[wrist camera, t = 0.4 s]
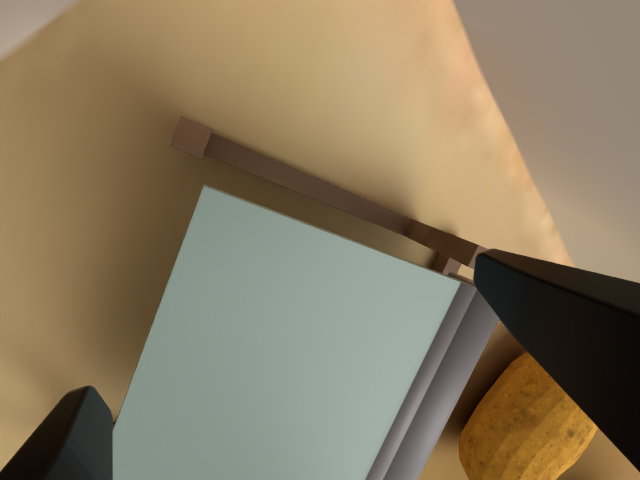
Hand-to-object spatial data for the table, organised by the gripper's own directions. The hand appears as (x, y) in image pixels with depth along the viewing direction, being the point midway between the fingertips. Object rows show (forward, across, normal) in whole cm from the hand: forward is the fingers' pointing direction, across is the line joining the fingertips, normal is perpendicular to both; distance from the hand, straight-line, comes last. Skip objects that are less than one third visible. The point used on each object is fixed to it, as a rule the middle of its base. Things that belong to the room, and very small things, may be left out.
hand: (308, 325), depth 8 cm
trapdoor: (+9, -1, +11) cm, 14 cm away
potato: (+10, -17, +25) cm, 32 cm away
